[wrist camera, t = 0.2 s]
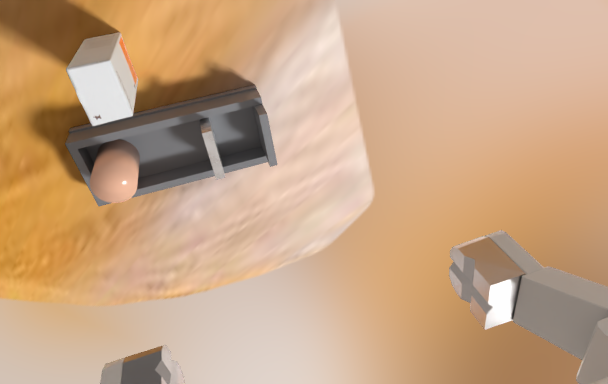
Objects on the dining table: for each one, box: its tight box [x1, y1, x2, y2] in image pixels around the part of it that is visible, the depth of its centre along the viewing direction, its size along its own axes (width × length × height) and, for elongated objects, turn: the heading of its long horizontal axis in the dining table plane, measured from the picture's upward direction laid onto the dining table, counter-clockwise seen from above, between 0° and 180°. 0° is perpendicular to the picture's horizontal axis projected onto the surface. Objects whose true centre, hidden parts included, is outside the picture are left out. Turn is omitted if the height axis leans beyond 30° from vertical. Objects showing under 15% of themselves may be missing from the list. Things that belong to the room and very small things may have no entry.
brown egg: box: [90, 139, 140, 203], centre depth 53 cm, size 5×5×7 cm
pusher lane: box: [65, 85, 277, 206], centre depth 55 cm, size 10×24×7 cm, turn 98°
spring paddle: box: [200, 117, 225, 180], centre depth 55 cm, size 7×1×6 cm, turn 8°
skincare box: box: [66, 32, 138, 126], centre depth 45 cm, size 6×4×12 cm
